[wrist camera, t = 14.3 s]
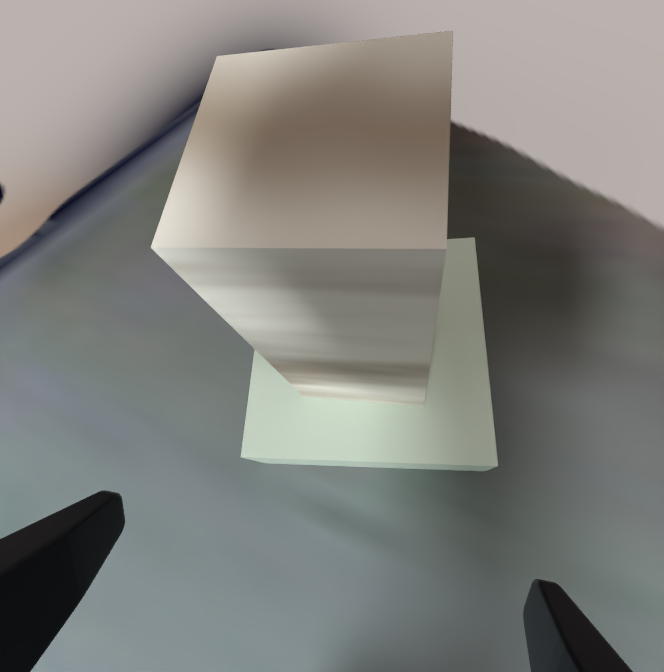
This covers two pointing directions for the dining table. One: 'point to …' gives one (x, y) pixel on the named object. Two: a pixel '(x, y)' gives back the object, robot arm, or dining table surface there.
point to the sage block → (391, 419)
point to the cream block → (322, 210)
